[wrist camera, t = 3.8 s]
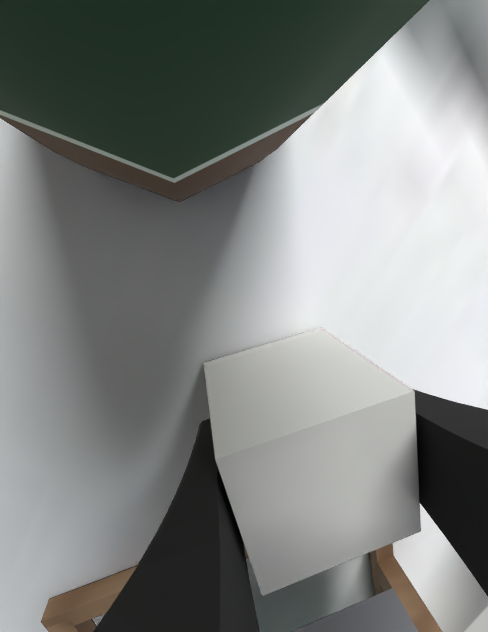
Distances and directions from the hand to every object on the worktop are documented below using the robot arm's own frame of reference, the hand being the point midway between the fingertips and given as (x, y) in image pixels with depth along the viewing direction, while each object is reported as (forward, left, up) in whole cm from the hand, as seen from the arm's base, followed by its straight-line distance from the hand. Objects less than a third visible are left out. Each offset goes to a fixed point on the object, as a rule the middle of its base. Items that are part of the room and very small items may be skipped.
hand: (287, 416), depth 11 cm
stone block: (0, 0, -1) cm, 1 cm away
